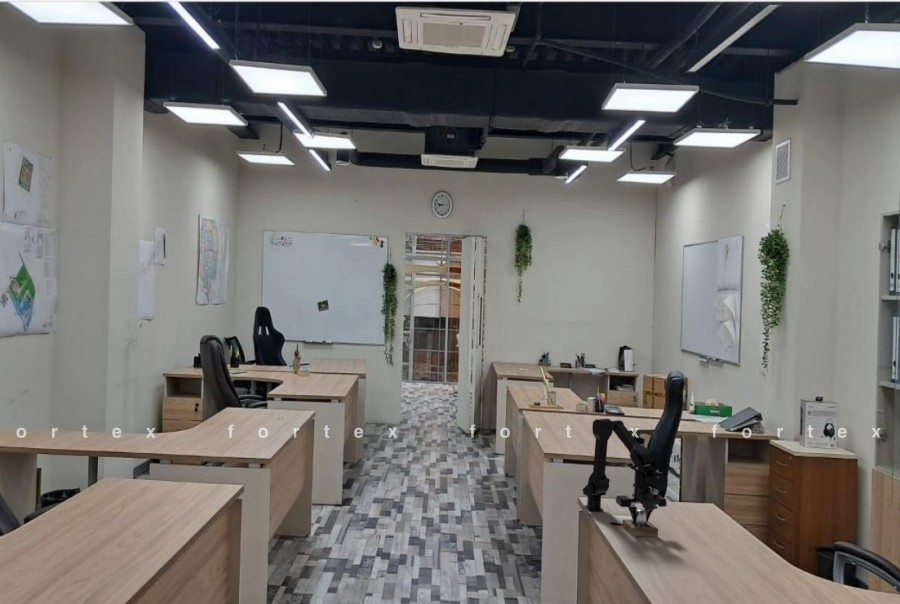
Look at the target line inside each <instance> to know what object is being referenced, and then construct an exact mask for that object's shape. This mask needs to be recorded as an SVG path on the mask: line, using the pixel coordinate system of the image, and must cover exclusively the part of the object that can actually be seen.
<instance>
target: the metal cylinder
mask: <svg viewBox="0 0 900 604" xmlns="http://www.w3.org/2000/svg"><path fill="white" fill-rule="evenodd" d="M646 516H647V511H646V510H645V508H639V507H637V510H636V523H634V525H635V526H636V527H646Z"/></svg>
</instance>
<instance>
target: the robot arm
mask: <svg viewBox="0 0 900 604" xmlns="http://www.w3.org/2000/svg"><path fill="white" fill-rule="evenodd" d="M591 425H592V435H593V436H594V438H595V444H594V446H595V447H594V457H593V468H592V469H593V470H592V473H591V474H590V476H589V477H588V480H587V484H586V485H585V486H584V488H582V494H583V496H586V497H587V500H586V501H587V503H586V504H584V508H585V509H586V510H587V511H588V512H604V508H602V507H601V506H602V496H606V495H607V492H608V491H609V489H610V478H609V477H607V475H606V465H607V455H608V454H607V453H608V442H609V439H610V438H611V436H612V435H613V432H614V434H615V435H616V436H617V438H618V439H619V440H620V442H621V443H622V444H623V445H624V447H625V448H626V449H627V451H628V452H629V457H630V459H631V461H632V464H633V465H632V466H630V469H631V470H633V471H634V483H632V487H633V493H632V494H631V495H632V498H631V497H630V498H629V497H628V496H627V495H617V496H615V503H616V504H617V505H618V506H620V507H621V508H628V511H629V513H630V516H631V518H632V519H633V522H634V523H636V510H637V508H638V507H637V506H636V504H641V506H642V509H645V510H646V511H647V516H646V523H647V522H648V521H649V519H650V517H651V514H652V513H653V512H654V511H655V510H657V509H658V508H663V507H664V508H665V507H667V506H668V504H667V503H668V502H667V499H666V498H664V497H663V496H661V494H652V489H653V490H655V491H659V492H663V491H665V489H667V486H668V479H667V478H666V476H665V475H664V472H662V471H659V466H658V464H657V462H656V460H655V458H654V455H653V453H652V452H651V451H650V450H649V449H648V448H647V447H646V446H644V445H641V444H640V443H639V442H638V441H637V440H636V438H635V437H634V435H633V434H632V433H631V432H630V430H629V429H627V427H626V426H625V424H624V422H623V421H622V420H620V419H618V420H611V419H610V418H597V419H594V420H593V421H592V424H591Z"/></svg>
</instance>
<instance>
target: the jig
mask: <svg viewBox="0 0 900 604" xmlns="http://www.w3.org/2000/svg"><path fill="white" fill-rule="evenodd" d="M622 528H623V529H624V530H625V531H626V532H627V533H628V532H629V533H630V534H629V533H628V534H629V535H630V536H632V537H633V538H635V537H634V536H659V528H658V527H657V526H656V525H655V524H653V523H652V522H651V521H649V520H648V522H647V523H646V527H636V526H635V525H634V522H633V519H631V518H630V519H622Z"/></svg>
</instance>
